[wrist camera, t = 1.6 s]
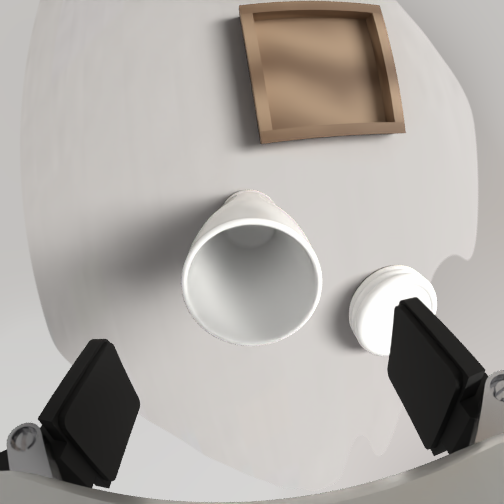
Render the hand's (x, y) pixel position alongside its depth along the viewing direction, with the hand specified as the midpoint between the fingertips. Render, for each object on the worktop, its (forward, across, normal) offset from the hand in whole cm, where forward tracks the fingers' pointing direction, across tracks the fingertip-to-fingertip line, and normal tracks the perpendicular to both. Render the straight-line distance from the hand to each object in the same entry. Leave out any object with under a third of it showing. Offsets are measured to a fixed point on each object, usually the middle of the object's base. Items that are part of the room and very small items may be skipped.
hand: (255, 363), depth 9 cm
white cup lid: (+21, -14, +12) cm, 28 cm away
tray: (+20, -8, -13) cm, 25 cm away
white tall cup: (+20, 0, 0) cm, 20 cm away
